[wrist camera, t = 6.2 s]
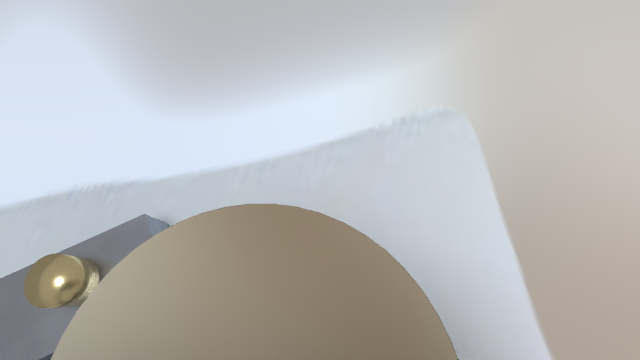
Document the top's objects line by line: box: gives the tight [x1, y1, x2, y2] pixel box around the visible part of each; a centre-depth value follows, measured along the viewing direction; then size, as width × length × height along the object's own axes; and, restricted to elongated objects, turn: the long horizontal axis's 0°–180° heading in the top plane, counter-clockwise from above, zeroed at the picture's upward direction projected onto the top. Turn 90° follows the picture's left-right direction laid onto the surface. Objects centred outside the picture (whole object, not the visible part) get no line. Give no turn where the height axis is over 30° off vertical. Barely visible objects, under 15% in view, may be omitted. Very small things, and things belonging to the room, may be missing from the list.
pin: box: [51, 204, 458, 360], centre depth 9 cm, size 4×4×12 cm
